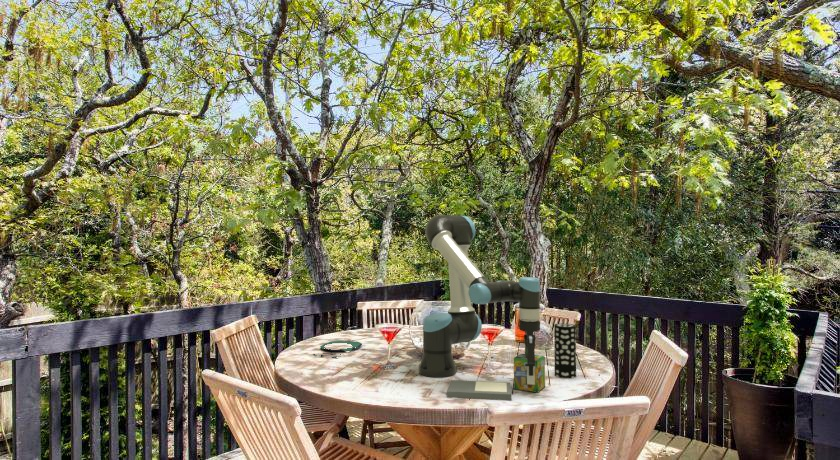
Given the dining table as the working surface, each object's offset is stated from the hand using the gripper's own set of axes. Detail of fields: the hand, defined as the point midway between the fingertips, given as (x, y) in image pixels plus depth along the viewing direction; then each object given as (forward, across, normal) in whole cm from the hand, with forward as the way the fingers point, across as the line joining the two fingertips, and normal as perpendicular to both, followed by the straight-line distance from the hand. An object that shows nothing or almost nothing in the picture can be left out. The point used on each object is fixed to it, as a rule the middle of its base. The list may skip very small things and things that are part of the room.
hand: (529, 379), depth 187 cm
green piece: (+4, +48, +89) cm, 102 cm away
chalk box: (+3, 0, 0) cm, 3 cm away
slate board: (+3, -8, +18) cm, 20 cm away
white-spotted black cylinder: (+3, +19, -15) cm, 24 cm away
